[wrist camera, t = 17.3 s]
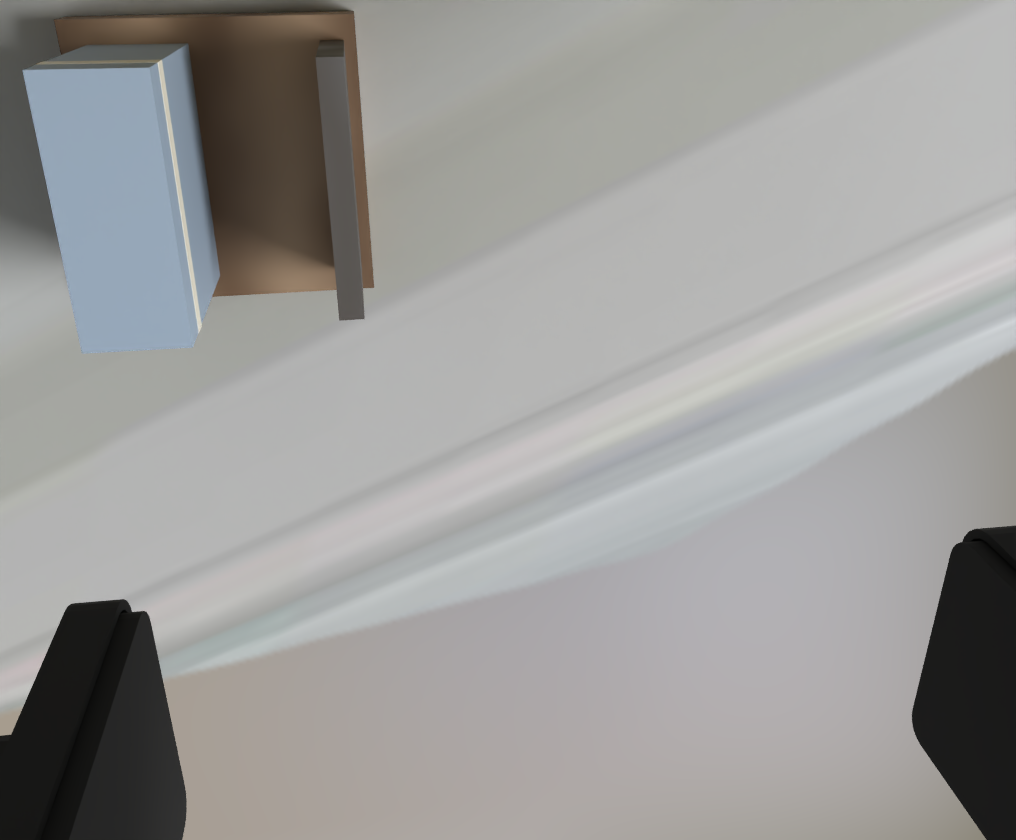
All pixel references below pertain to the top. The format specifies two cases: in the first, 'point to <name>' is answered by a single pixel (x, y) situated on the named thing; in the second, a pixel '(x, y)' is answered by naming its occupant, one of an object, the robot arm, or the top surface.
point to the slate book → (127, 192)
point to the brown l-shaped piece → (271, 143)
